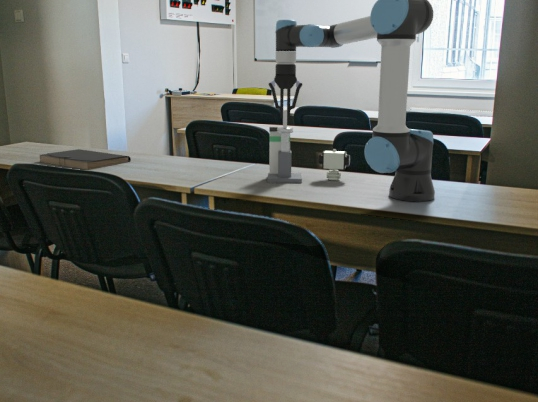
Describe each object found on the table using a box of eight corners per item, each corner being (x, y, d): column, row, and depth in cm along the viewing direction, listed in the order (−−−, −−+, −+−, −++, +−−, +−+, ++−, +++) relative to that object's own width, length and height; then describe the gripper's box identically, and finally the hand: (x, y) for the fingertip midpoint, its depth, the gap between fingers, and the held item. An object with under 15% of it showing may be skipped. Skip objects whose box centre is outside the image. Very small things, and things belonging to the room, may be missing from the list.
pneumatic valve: (348, 181, 220) (349, 150, 217) (317, 180, 223) (318, 149, 220) (349, 178, 226) (350, 148, 223) (319, 177, 228) (320, 147, 225)
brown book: (38, 154, 258) (82, 148, 277) (39, 163, 259) (83, 156, 278) (86, 161, 240) (130, 154, 259) (87, 171, 241) (131, 163, 260)
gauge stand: (300, 176, 229) (301, 126, 224) (301, 182, 218) (302, 129, 213) (268, 176, 229) (268, 126, 224) (267, 182, 218) (267, 129, 214)
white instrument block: (292, 155, 225) (292, 127, 222) (292, 158, 218) (293, 129, 216) (269, 155, 225) (269, 126, 222) (269, 158, 219) (269, 129, 216)
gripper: (303, 63, 216) (301, 126, 222) (268, 63, 217) (268, 126, 223) (303, 63, 209) (302, 128, 215) (267, 63, 209) (267, 128, 215)
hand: (284, 127), depth 219 cm, fingers closed
